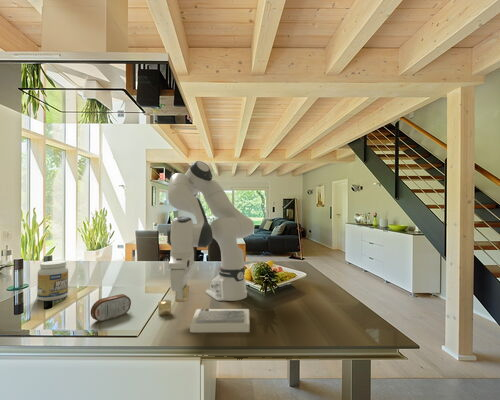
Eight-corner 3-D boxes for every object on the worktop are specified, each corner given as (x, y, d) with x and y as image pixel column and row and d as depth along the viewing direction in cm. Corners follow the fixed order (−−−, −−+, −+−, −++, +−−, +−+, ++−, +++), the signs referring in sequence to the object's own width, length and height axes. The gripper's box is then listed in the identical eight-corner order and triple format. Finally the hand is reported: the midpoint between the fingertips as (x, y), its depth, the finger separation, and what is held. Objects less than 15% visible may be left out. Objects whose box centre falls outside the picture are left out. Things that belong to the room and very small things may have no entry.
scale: (190, 332, 100) (190, 321, 100) (196, 316, 114) (196, 306, 114) (249, 332, 100) (249, 320, 100) (248, 316, 114) (249, 306, 114)
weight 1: (156, 314, 117) (156, 301, 117) (167, 310, 120) (167, 299, 120) (161, 317, 113) (161, 305, 113) (173, 314, 116) (173, 302, 117)
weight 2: (172, 300, 109) (172, 286, 109) (184, 296, 112) (184, 284, 112) (179, 303, 105) (179, 289, 105) (191, 300, 109) (191, 287, 109)
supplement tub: (52, 302, 129) (52, 265, 130) (30, 300, 132) (30, 264, 132) (73, 294, 141) (74, 260, 142) (53, 292, 144) (53, 259, 144)
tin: (128, 311, 119) (128, 291, 119) (132, 313, 117) (132, 293, 117) (90, 323, 108) (90, 300, 108) (93, 325, 106) (93, 302, 106)
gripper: (179, 254, 119) (179, 287, 119) (167, 265, 99) (167, 305, 98) (194, 254, 119) (194, 287, 119) (185, 265, 99) (185, 304, 99)
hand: (181, 295), depth 109 cm, fingers closed on weight 2, 5 cm apart
